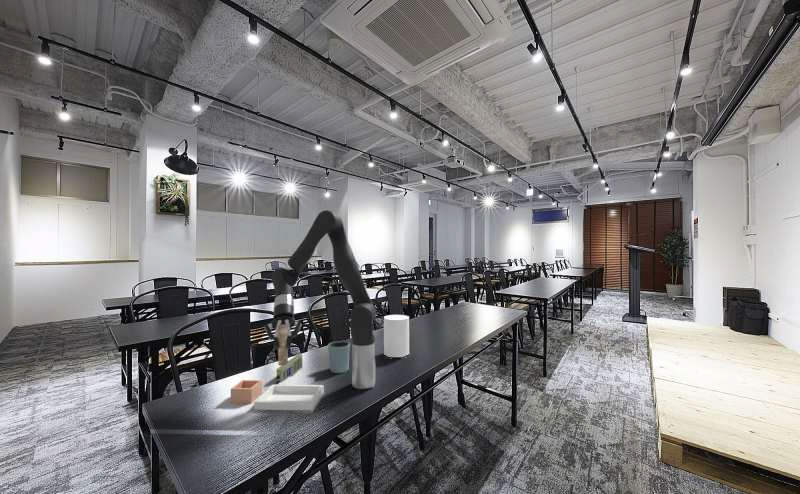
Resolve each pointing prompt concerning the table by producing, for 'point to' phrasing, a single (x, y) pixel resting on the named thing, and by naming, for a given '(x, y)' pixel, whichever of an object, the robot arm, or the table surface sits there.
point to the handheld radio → (289, 368)
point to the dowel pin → (282, 345)
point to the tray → (290, 398)
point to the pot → (246, 391)
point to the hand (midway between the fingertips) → (282, 347)
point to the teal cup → (339, 356)
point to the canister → (396, 335)
